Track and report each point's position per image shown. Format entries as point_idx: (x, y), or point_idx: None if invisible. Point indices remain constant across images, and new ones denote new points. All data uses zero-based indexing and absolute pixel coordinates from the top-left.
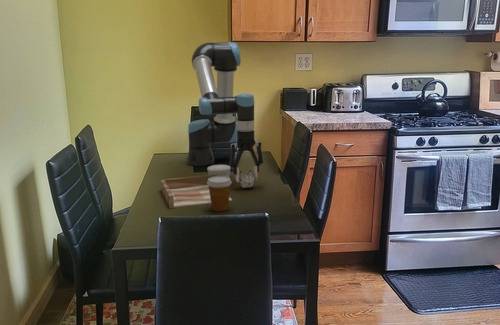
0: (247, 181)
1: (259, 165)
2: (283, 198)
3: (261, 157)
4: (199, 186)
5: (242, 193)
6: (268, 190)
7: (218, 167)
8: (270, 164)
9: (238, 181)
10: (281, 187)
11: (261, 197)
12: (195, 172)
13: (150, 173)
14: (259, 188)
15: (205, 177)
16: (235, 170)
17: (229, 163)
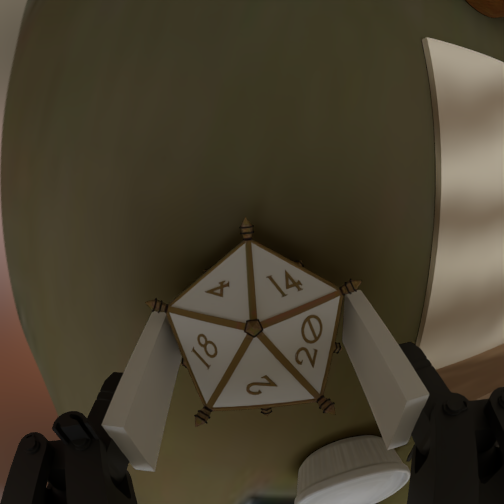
0: (268, 260)
1: (65, 413)
2: (58, 13)
3: (11, 502)
4: (489, 345)
5: (322, 168)
6: (96, 196)
7: (356, 498)
8: None
9: (352, 294)
10: (21, 245)
11: (190, 31)
12: None
13: None
14: (155, 262)
15: (486, 387)
16: (424, 376)
17: (496, 441)
